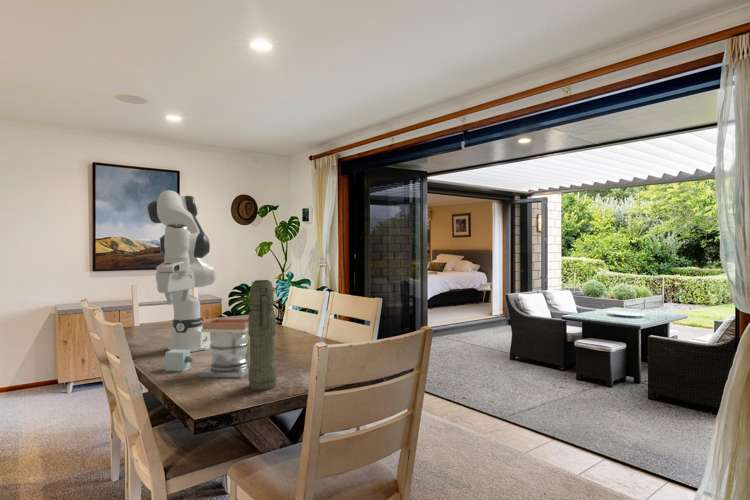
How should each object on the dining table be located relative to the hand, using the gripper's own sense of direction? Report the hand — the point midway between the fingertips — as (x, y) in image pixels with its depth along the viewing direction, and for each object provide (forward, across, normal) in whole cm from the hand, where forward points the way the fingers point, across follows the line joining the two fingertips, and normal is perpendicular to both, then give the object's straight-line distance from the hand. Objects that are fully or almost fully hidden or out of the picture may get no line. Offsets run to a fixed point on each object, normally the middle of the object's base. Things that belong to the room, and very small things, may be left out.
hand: (177, 302), depth 169 cm
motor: (+25, +1, +21) cm, 33 cm away
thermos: (+26, +18, +40) cm, 51 cm away
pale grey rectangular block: (+25, 0, 0) cm, 25 cm away
